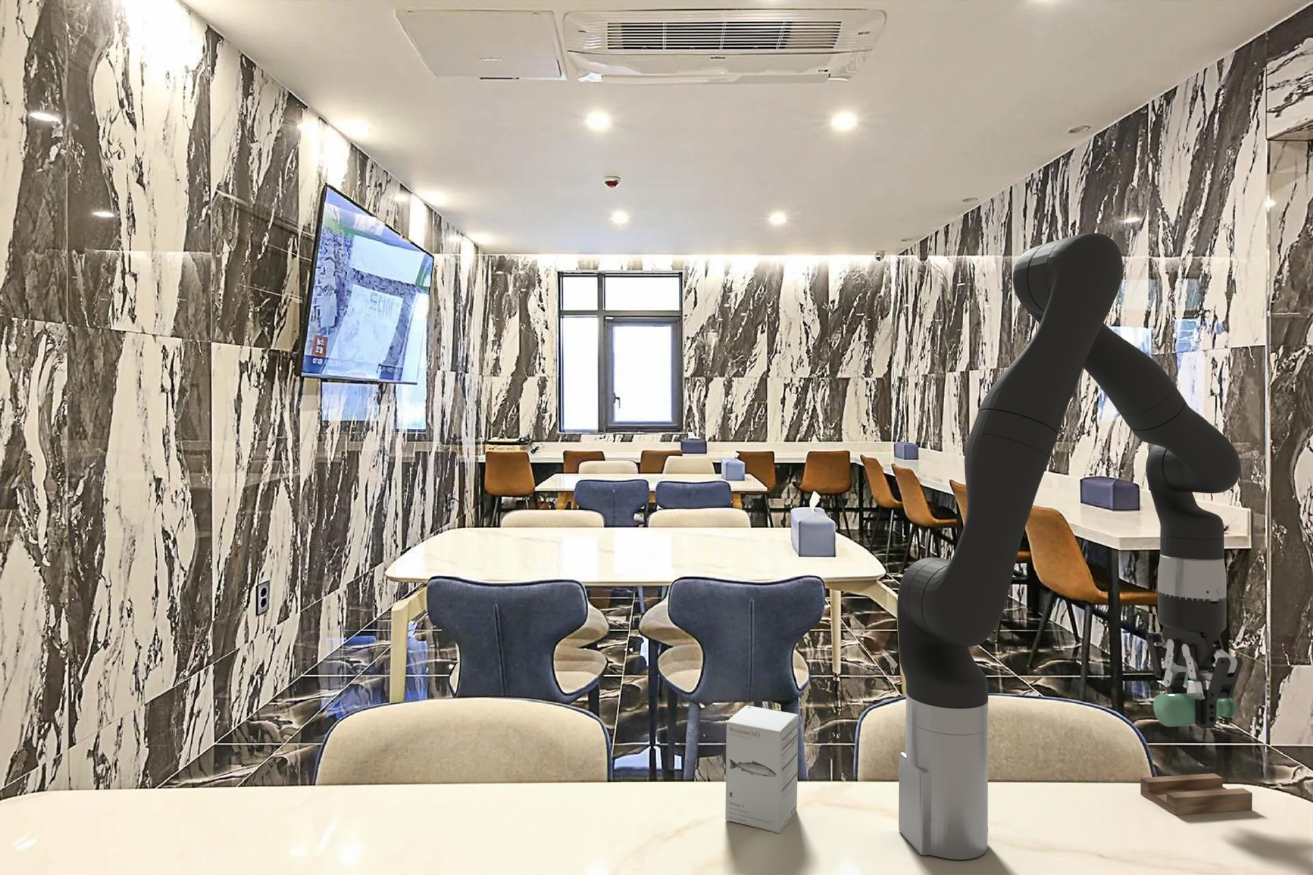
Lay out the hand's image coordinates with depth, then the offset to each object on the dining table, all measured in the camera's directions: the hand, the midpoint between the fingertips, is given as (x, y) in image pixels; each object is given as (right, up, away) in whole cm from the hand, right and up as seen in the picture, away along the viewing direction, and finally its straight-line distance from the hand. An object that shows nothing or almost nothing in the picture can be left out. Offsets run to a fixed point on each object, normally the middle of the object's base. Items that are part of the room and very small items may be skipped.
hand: (1191, 720), depth 107 cm
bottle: (+1, +1, 0) cm, 2 cm away
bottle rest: (+1, -11, 0) cm, 11 cm away
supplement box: (-57, -11, -4) cm, 58 cm away
